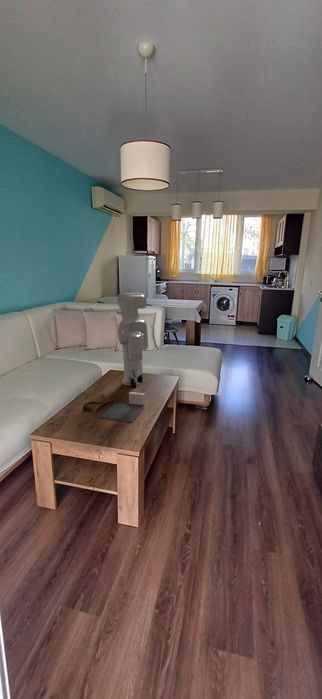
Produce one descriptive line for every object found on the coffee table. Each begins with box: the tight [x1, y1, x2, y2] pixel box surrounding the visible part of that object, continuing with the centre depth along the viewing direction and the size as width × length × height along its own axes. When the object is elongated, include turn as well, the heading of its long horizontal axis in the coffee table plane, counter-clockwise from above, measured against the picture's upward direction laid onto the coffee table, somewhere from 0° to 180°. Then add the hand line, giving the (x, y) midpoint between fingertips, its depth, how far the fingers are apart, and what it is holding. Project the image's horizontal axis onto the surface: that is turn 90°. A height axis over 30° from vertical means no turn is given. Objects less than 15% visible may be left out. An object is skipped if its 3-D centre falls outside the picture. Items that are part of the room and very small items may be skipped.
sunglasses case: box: [82, 393, 113, 413], centre depth 188 cm, size 18×7×7 cm
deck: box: [128, 391, 146, 406], centre depth 189 cm, size 2×9×6 cm, turn 73°
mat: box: [100, 402, 145, 424], centre depth 179 cm, size 18×18×1 cm
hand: (136, 385), depth 186 cm, fingers open, 9 cm apart
